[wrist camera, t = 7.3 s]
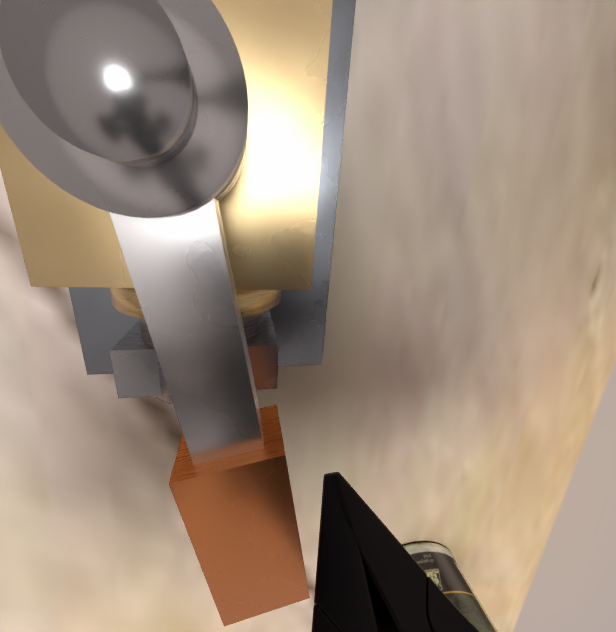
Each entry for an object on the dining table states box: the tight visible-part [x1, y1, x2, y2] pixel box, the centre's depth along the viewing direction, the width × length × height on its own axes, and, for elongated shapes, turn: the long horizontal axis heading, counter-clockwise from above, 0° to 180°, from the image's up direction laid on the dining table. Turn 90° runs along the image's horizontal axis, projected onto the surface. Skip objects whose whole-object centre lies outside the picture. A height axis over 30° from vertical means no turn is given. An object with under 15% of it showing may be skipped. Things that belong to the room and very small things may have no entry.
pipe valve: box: [0, 0, 356, 404], centre depth 8 cm, size 16×10×7 cm, turn 176°
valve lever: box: [0, 0, 310, 626], centre depth 5 cm, size 12×3×2 cm, turn 6°
